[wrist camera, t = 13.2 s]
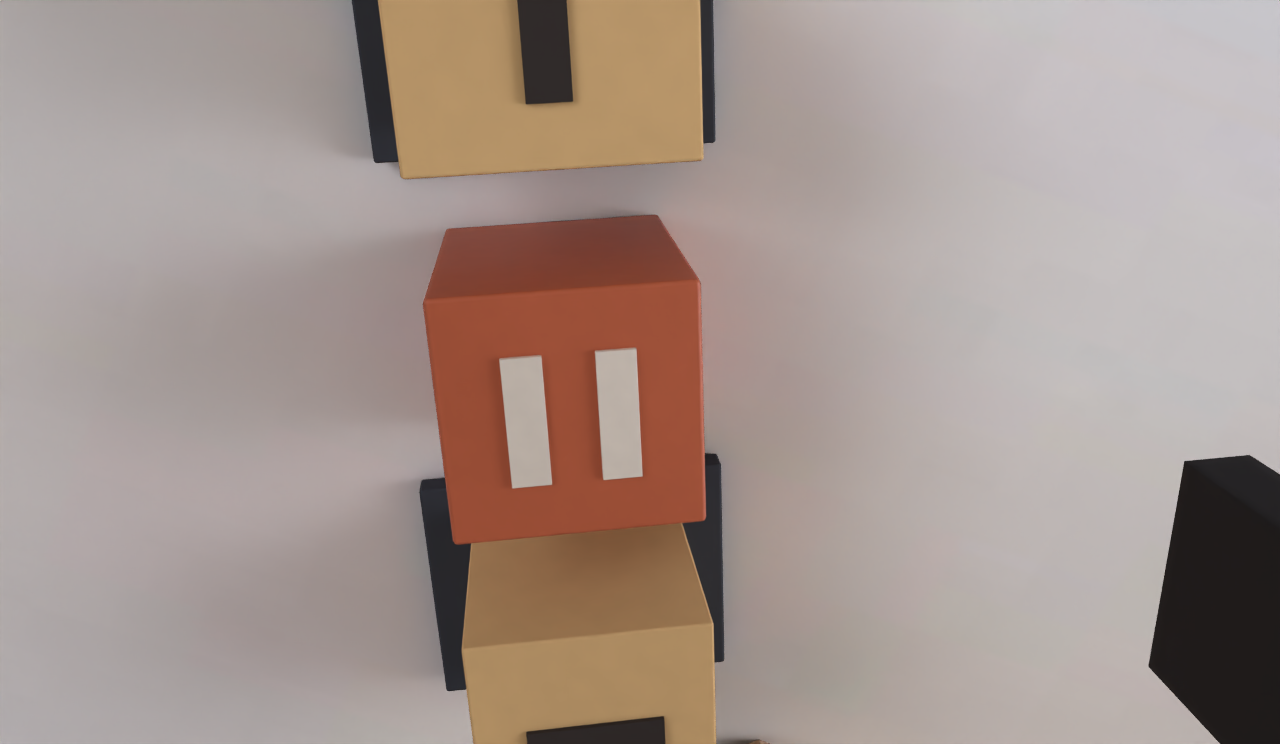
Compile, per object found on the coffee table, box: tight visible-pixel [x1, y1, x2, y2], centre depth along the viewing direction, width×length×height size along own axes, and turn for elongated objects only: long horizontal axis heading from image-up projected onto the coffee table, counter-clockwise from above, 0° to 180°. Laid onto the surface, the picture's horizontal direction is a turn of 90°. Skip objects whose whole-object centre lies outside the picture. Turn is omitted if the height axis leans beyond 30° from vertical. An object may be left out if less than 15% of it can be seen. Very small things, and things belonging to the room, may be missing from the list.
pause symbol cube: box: [423, 215, 706, 545], centre depth 20 cm, size 5×5×6 cm
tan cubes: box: [352, 0, 724, 744], centre depth 19 cm, size 19×7×6 cm, turn 3°
